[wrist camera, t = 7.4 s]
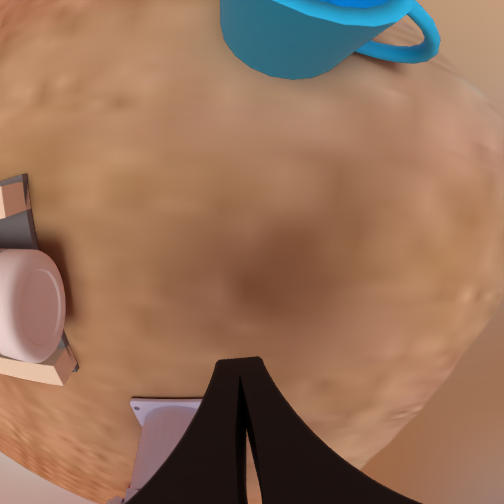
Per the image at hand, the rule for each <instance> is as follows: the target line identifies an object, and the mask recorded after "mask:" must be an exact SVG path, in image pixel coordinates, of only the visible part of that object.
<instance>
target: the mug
mask: <svg viewBox="0 0 504 504" xmlns="http://www.w3.org/2000/svg"><path fill="white" fill-rule="evenodd" d="M406 14H407V15H408V16H409V17H410V18H411V19H412V20H413V21H414V22H415V23H416V24H417V25H418V26H419V27H420V28H421V30H422V32H423V34H424V36H425V38H424V41H423V42H422V43H421V44H419V45H415V46H411V47H407V46H393V45H388V44H383V43H378V42H375V41H371V39H373V38H374V37H375V36H377V35H378V34H380V33H381V32H383V31H384V30H386V29H387V28H389V27H390V26H392V25H393V24H395V23H396V22H398V21H399V20H400V19H401V18H402V17H404V16H405V15H406ZM220 22H221V28H222V32H223V36H224V40H225V42H226V43H227V45H228V46H229V48H230V49H231V50H232V52H233V53H234V55H235V56H236V57H238V58H239V59H240V60H242V61H243V62H244V63H246V64H247V65H248V66H249V67H251V68H253V69H255V70H257V71H260V72H262V73H265V74H267V75H269V76H272V77H279V78H285V79H291V80H294V79H304V78H313V77H315V76H318V75H320V74H323V73H325V72H328V71H330V70H331V69H332V68H333V67H335V66H336V65H337V64H339V63H340V62H341V61H343V60H344V59H345V58H347V57H348V56H349V55H351V54H352V53H353V52H357V53H361V54H364V55H368V56H371V57H374V58H378V59H382V60H387V61H392V62H398V63H412V64H414V63H420V62H426V61H428V60H430V59H431V58H432V57H434V56H435V55H437V53H438V50H439V45H440V35H439V33H438V30H437V28H436V25H435V23H434V21H433V19H432V18H431V17H430V16H429V15H428V13H427V12H426V11H425V10H424V9H423V8H422V7H421V5H419V3H418V2H417V1H415V0H220Z"/></svg>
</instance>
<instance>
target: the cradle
mask: <svg viewBox="0 0 504 504" xmlns="http://www.w3.org/2000/svg"><path fill="white" fill-rule="evenodd" d="M0 249H32V250H39V248H38V244H37V239H36V234H35V229H34V223H33V218H32V211H31V205H30V198H29V190H28V180H27V174H22V175H19V176H16V177H13V178H10V179H7V180H4V181H1V182H0ZM78 369H79V367H78V364H77V362H76V360H75V358H74V355H73V353H72V351H71V348H70V346H69V344H68V341H67V339H66V336H65V334H64V331H63V333H62V336H61V339H60V342H59V344H58V346H57V348H56V350H55V351H54V352H53V354H52V355H51V356H49V357H48V358H47V359H46V360H44V361H42V362H40V363H28V362H24V361H20V360H17V359H13V358H9V357H6V356H3V355H0V373H1V374H5V375H9V376H13V377H18V378H22V379H27V380H32V381H37V382H42V383H48V384H54V385H60V386H64V385H65V383H66V381H67V380H68V378H69V376H70V374H71V373H72V372H77V371H78Z"/></svg>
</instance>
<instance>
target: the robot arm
mask: <svg viewBox="0 0 504 504" xmlns="http://www.w3.org/2000/svg"><path fill="white" fill-rule="evenodd" d="M130 405H131V407H132V409H133V411H134V413H135V415H136V417H137V419H138V421H139V423H140V425H141V427H142V431H141V436H140V440H139V445H138V449H137V454H136V459H135V463H134V468H133V473H132V478H131V484H130V488H127V489H126V495H125V500H124V498H123V497H120V496H115V497H114V498H112V499H110V500H108V501H107V503H106V504H248V501H247V489H246V428H247V433H248V437H249V442H250V446H251V451H252V455H253V460H254V464H255V468H256V472H257V477H258V481H259V485H260V491H261V497H262V504H422V503H419V502H417V501H414V500H412V499H410V498H407V497H405V496H403V495H401V494H399V493H397V492H395V491H393V490H391V489H389V488H387V487H385V486H383V485H381V484H380V483H378V482H376V481H375V480H373V479H371V478H370V477H368V476H367V475H365V474H364V473H362V472H361V471H360V470H358V469H357V468H355V467H354V466H352V465H351V464H349V463H348V462H347V461H345V460H344V459H343V458H341V457H340V456H339V455H338V454H337V453H335V452H334V451H333V450H332V449H331V448H329V447H328V446H327V445H326V444H325V443H324V442H323V441H322V440H321V439H320V438H319V437H318V436H317V435H316V434H315V433H314V432H313V431H312V430H311V429H310V428H309V427H308V426H307V425H306V424H305V423H304V422H303V420H302V419H301V418H300V417H299V416H298V415H297V414H296V412H295V411H294V410H293V409H292V407H291V406H290V405H289V403H288V402H287V401H286V399H285V398H284V396H283V395H282V394H281V392H280V391H279V389H278V388H277V386H276V385H275V383H274V382H273V380H272V378H271V377H270V375H269V373H268V371H267V369H266V367H265V365H264V363H263V360H262V359H261V358H260V357H259V356H258V357H247V358H236V359H223V360H218V361H217V362H216V364H215V369H214V372H213V375H212V378H211V380H210V383H209V385H208V388H207V390H206V393H205V395H204V397H203V399H141V398H132V399H131V401H130Z"/></svg>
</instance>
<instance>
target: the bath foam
mask: <svg viewBox="0 0 504 504" xmlns="http://www.w3.org/2000/svg"><path fill="white" fill-rule="evenodd" d="M65 312H66V302H65V292H64V286H63V282H62V278H61V275H60V273H59V270H58V268H57V266H56V265H55V263H54V262H53V260H52V259H51V258H50V257H49V256H48V255H47V254H45V253H43V252H41V251H39V250H32V249H0V355H3V356H6V357H9V358H13V359H17V360H20V361H24V362H28V363H40V362H42V361H44V360H46V359H47V358H48V357H49V356H51V355H52V354H53V352H54V351H55V350H56V348H57V346H58V344H59V342H60V339H61V336H62V333H63V329H64V323H65Z"/></svg>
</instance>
